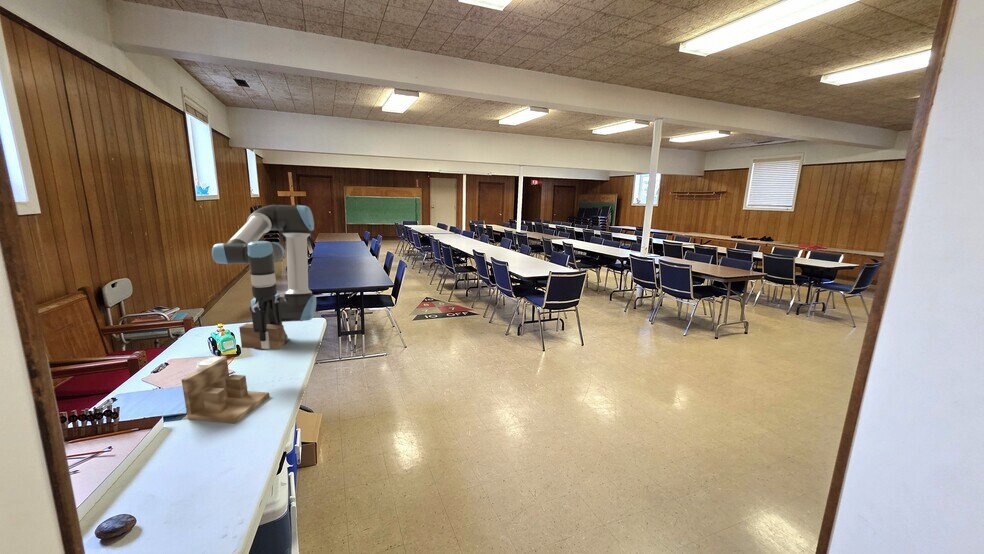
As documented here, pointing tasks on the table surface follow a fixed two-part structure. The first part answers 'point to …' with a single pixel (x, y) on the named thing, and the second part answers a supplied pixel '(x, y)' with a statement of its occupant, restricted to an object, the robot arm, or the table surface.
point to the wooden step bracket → (219, 394)
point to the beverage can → (207, 362)
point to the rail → (253, 339)
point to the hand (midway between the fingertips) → (270, 345)
